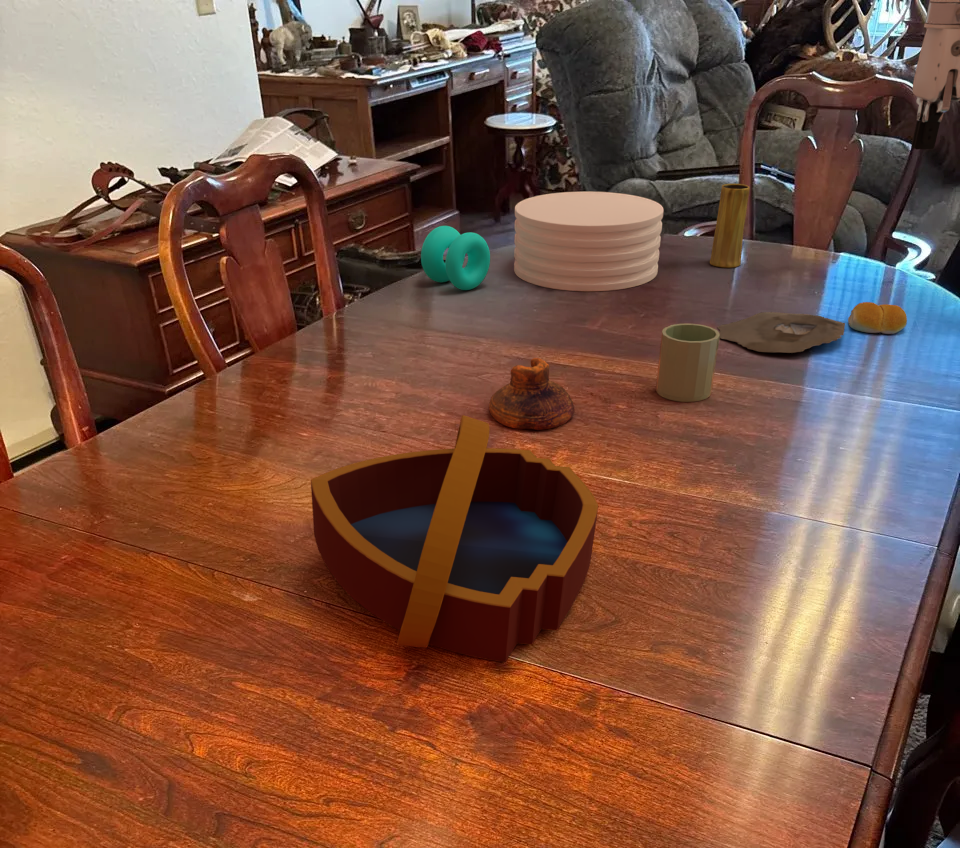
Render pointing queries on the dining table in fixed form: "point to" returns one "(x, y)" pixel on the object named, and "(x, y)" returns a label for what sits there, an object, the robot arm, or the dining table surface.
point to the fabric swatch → (782, 331)
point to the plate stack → (587, 240)
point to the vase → (730, 226)
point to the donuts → (455, 257)
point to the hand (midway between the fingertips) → (922, 148)
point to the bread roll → (877, 318)
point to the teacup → (687, 362)
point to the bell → (531, 399)
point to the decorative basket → (458, 542)
